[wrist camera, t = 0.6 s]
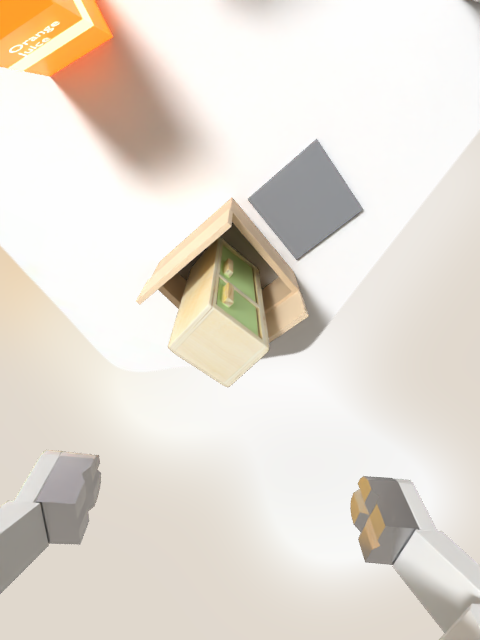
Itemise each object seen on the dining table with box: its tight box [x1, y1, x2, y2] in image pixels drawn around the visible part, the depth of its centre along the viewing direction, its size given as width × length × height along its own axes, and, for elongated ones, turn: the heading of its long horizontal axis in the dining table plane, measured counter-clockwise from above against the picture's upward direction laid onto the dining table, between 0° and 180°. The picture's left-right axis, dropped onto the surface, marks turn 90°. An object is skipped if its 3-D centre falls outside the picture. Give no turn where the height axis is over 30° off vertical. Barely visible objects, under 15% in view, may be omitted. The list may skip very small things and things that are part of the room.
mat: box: [248, 139, 363, 260], centre depth 48 cm, size 11×11×1 cm
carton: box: [136, 198, 309, 343], centre depth 47 cm, size 14×14×13 cm
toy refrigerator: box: [168, 237, 270, 387], centre depth 43 cm, size 8×7×21 cm
